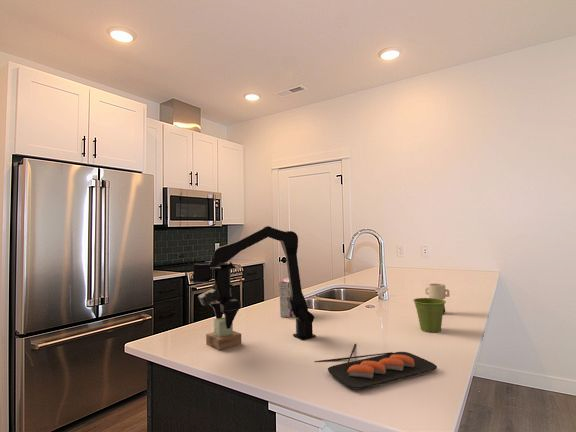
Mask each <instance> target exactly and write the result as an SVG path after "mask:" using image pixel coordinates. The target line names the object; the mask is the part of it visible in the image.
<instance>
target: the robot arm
mask: <svg viewBox="0 0 576 432" xmlns="http://www.w3.org/2000/svg"><path fill="white" fill-rule="evenodd" d="M267 238H270V239H272V240H276V241H279V242H280V245H281V249H282V250H283V252H284V256H285V260H286V268H287V273H288V274H287V276H288V278H289V283H290V290H291V293H290V297H287V301H288V308H289V310H290V311H291V312H292V313H293V314H292V315H293V316H294V317H295V333H293V334H292V336H293V337H295V338H297V339H299V340H301V341H303V340H308V339H312V338H316V337H317V335H316V334H314V333H313V323H314V319H315V316H314V314H312V313H311V312H310V311H309V307H308V304H307V301H306V298H305V296H304V293H303V290H302V284H301V276H300V269H299V262H298V255H297V254H298V247H299V236H298V234H297V233H296V232H295V231H292V230H289V231H288V230H286V231H284V230H280V229H277V228H273V227H272V226H270V225H266V226H264V227H263V228H261V229H258V230H257V231H254V232H253V233H251V234H249V235H247V236H245V237H244V238H242V239H239V240H237V241H235V242H232V243H229V244H225V245H221V246H219V247H217V248H216V249H215V250H214V251H213V252H214V253H213V258H212V259H211V260H210V261H209V263H194V264H193V270H192V271H193V272H192V284H206V283H210V281H212V280H213V275H214V284H212V285H211V288H212V289H210V290H207V291H205V292H203V293H201V294H199V295H198V296H197V298H198V300H199V303H200V304H201V306H204V307H206V306H208V305H209V306H210V307H212V309H213V312H214V314H215V319H219V318H223V315H224V318H225V323H226V328H227V329H230V327H231V325H232V322H234V320H235V319H236V318H235V317H236V315H237V313H238V312H239V310H241V308H242V303H241V301H239V300H238V299H235V298H234V296H233V295H232V288H234V287H233V286H234V284H232V283H231V282H232V279H231V278H232V277H231V270H235V269H236V265H234V264H233V263H232V261H230V260H231V259H234V257H236V255H238V254H239V253H240V252H242V251H243V250H246V249H248V248H249V247H251V246H253V245H255V244H258V243H259V242H261V241H263V240H265V239H267ZM229 261H230V262H229ZM227 262H229V263H227ZM225 263H226V264H225ZM218 265H220V266H218ZM213 271H214V273H213Z"/></svg>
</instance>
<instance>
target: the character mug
mask: <svg viewBox="0 0 576 432" xmlns="http://www.w3.org/2000/svg"><path fill="white" fill-rule="evenodd" d="M424 290H425V295H428V298H435V299H441V300H445V299H446V298H448V297H450V296H451V294H450V289H447V288H446V285H445V284H444V283H429V284H428V286H426V287H425V288H424ZM443 313H446V307H445V305H444V309H443Z"/></svg>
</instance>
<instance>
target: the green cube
mask: <svg viewBox="0 0 576 432" xmlns="http://www.w3.org/2000/svg"><path fill="white" fill-rule="evenodd" d="M233 322H234V321H233ZM233 322H232V325H231V327H230V329H227V328H226V323H225V317H222V318H219V319H216V318H214V319H213V328H214V329H213V331H214V333H215V334H216V335H217V336H219V337H221V336H226V335H231V334H233V331H234V330H233V328H234V326H233Z"/></svg>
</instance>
